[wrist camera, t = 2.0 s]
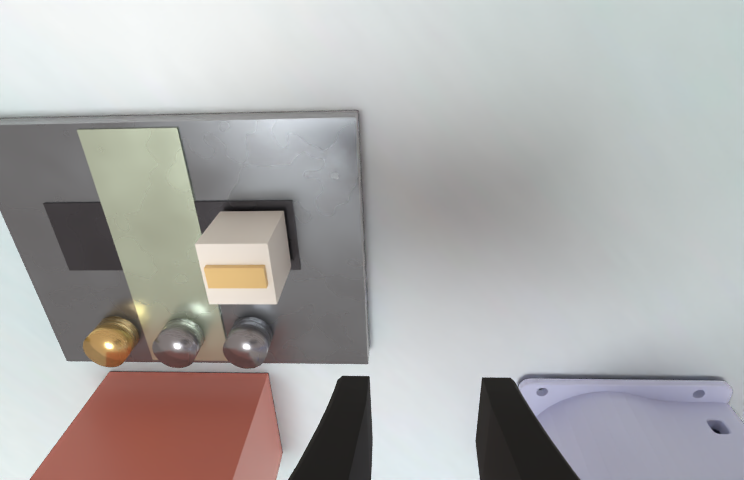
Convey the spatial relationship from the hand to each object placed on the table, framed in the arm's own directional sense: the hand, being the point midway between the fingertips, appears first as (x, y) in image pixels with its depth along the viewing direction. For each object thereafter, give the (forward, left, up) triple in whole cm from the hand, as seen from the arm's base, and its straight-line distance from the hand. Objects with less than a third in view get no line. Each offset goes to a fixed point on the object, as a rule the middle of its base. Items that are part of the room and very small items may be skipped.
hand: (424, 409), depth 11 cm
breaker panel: (+9, +1, -9) cm, 13 cm away
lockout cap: (+11, +11, -9) cm, 18 cm away
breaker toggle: (+6, 0, -8) cm, 10 cm away
